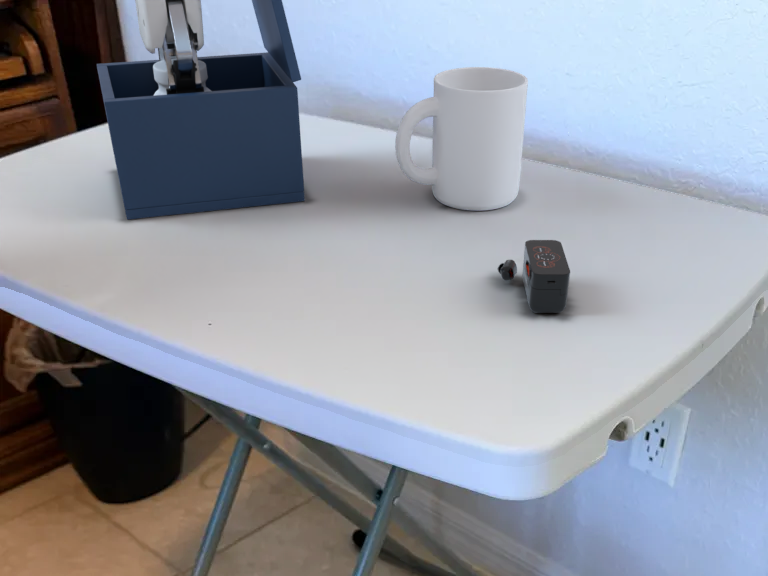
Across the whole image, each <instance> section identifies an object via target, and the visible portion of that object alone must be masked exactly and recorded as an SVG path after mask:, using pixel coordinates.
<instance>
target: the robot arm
mask: <svg viewBox="0 0 768 576" xmlns="http://www.w3.org/2000/svg"><path fill="white" fill-rule="evenodd" d="M134 2H135V10H136V17H137V24H138V31H139V35H140V38H141V42H142V44H143V45H144V48H145V49H146V51H148V52H149V53H150V54H152V55H153V54H156V49H157V52H158V60H159V61H162V60H165V66H166V72H167V78H168V84H169V88H168V89H166V92H167V95H169V94H182V93H195V92H204V87H203V86H202V84H201V77H200V71H199V64H198V58H197V57H198V52H199V51H200V50H201V49H203V47H204V45H205V37H204V24H203V23H204V22H203V10H202V9H203V8H202V0H134ZM174 58H176V60H173V64H172V60H171V59H174Z"/></svg>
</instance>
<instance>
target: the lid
mask: <svg viewBox="0 0 768 576" xmlns="http://www.w3.org/2000/svg"><path fill="white" fill-rule="evenodd" d="M251 3H252V7H253V10H254V14H255V19H256V22H257V25H258V29H259V33H260V35H261V40H262V44H263V47H264V49H265V50H266V51H267V52H268V53H269V54H270V55H271V56H272V58H273V59H274V60H275V61H276V63H277V64H278V65H279V66H280V68H281V69H282V70H283V71H284V72H285V74H286V75H287V76H288V77H289V79H290V80H291V81H292V82H293V83H296V82H300V81H301V80H302V76H301V72H300V68H299V64H298V60H297V55H296V52H295V48H294V44H293V40H292V36H291V32H290V27H289V24H288V19H287V16H286V11H285V8H284V3H283V0H251Z"/></svg>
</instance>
